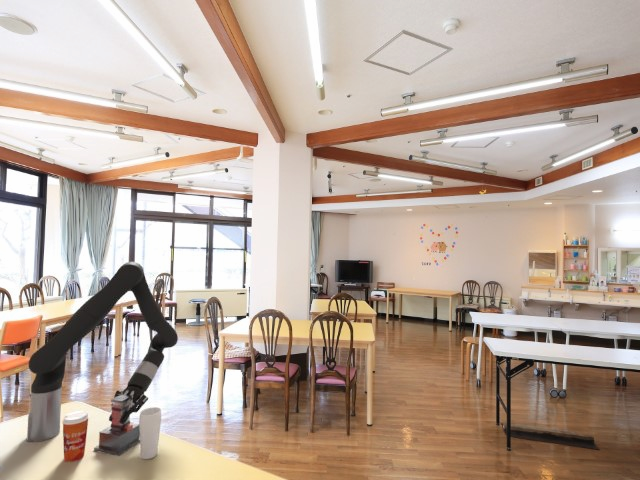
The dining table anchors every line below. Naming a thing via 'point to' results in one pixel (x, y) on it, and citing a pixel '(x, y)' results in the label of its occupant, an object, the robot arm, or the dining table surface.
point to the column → (119, 412)
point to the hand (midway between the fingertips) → (116, 421)
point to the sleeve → (118, 440)
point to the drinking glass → (149, 432)
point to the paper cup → (75, 435)
